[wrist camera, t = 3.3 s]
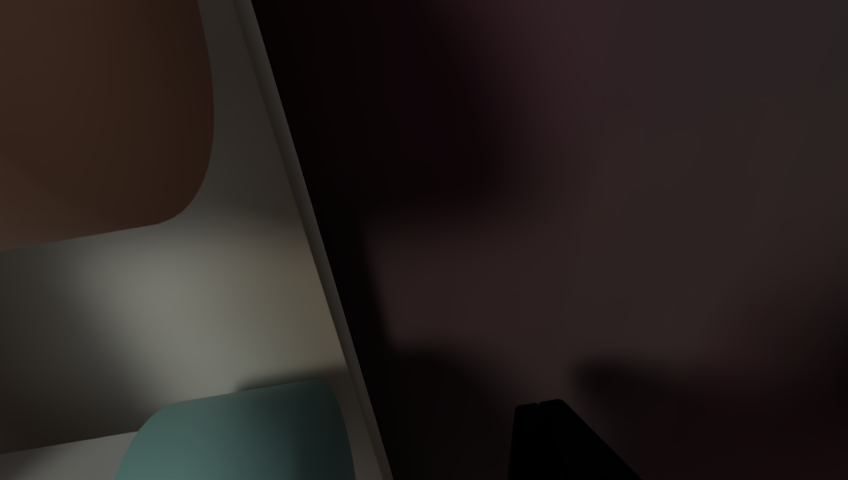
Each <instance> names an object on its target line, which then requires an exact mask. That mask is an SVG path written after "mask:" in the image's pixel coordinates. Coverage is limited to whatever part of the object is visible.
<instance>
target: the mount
mask: <svg viewBox="0 0 848 480" xmlns="http://www.w3.org/2000/svg"><path fill="white" fill-rule="evenodd" d="M197 3H198V7H199V11H200V15H201V19H202V23H203V28H204V33H205V38H206V43H207V48H208V54H209V61H210V67H211V76H212V86H213V100H214V132H213V142H212V151H211V156H210V160H209V165H208V169H207V172H206V175H205V177H204V180H203V183H202V185H201V187H200V189H199V191H198V192H197V194H196V196H195V198H194V199H193V200H192V201H191V203H190V204H189V205H188V206H187V207H186V209H185V210H183V211H182V212H181V213H179V214H178V215H176V216H175V217H174V218H172V219H170V220H167V221H164V222H162V223H159V224H156V225H150V226H144V227H138V228H132V229H126V230H121V231H115V232H109V233H103V234H97V235H91V236H85V237H80V238H74V239H68V240H62V241H56V242H50V243H44V244H39V245H33V246H27V247H21V248H15V249H9V250H4V251H0V454H5V453H11V452H17V451H23V450H29V449H35V448H41V447H47V446H53V445H59V444H65V443H71V442H77V441H83V440H89V439H95V438H101V437H107V436H113V435H119V434H125V433H131V432H137V431H139V430H140V428H141V427H142V426H143V425H144V424H145V423H146V422H147V420H148V419H149V418H150V417H151V416H152V415H154V414H155V413H156V412H157V411H159V410H160V409H162V408H163V407H165V406H167V405H169V404H172V403H176V402H181V401H187V400H193V399H199V398H205V397H211V396H217V395H223V394H229V393H235V392H241V391H247V390H253V389H259V388H264V387H270V386H276V385H282V384H288V383H294V382H300V381H306V380H312V379H322V380H323V381H325V382H326V383H327V384H328V385H329V386H330V388H331V390H332V391H333V393H334V395H335V397H336V399H337V401H338V404H339V407H340V409H341V412H342V415H343V419H344V422H345V426H346V430H347V434H348V438H349V442H350V447H351V453H352V458H353V464H354V470H355V477H356V480H393V476H392V473H391V470H390V466H389V463H388V459H387V456H386V453H385V449H384V446H383V443H382V439H381V436H380V433H379V429H378V426H377V422H376V419H375V416H374V412H373V409H372V406H371V402H370V399H369V396H368V392H367V389H366V385H365V382H364V379H363V375H362V372H361V369H360V365H359V362H358V359H357V355H356V352H355V349H354V345H353V342H352V338H351V335H350V332H349V328H348V325H347V322H346V318H345V315H344V312H343V308H342V305H341V301H340V298H339V295H338V291H337V288H336V285H335V281H334V278H333V275H332V271H331V268H330V264H329V261H328V258H327V254H326V251H325V248H324V244H323V241H322V238H321V234H320V231H319V227H318V224H317V221H316V217H315V214H314V211H313V207H312V204H311V201H310V197H309V194H308V191H307V187H306V184H305V180H304V177H303V174H302V170H301V167H300V164H299V160H298V157H297V154H296V150H295V147H294V143H293V140H292V137H291V133H290V130H289V127H288V123H287V120H286V117H285V113H284V110H283V106H282V103H281V100H280V96H279V93H278V90H277V86H276V83H275V80H274V76H273V73H272V69H271V66H270V63H269V59H268V56H267V53H266V49H265V46H264V43H263V39H262V36H261V33H260V29H259V26H258V22H257V19H256V16H255V12H254V9H253V6H252V2H251V0H197Z"/></svg>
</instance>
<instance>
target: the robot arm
mask: <svg viewBox="0 0 848 480" xmlns="http://www.w3.org/2000/svg"><path fill="white" fill-rule="evenodd" d="M508 480H642V479H641V478H640V477H639V476H638V475H637V474H636V473H635V472H634V471H633V470H632V469H631V468H630V467H629V466H628V465H627V464H626V463H625V462H624V461H623V460H622V459H621V458H620V457H619V456H618V455H617V454H616V453H615V452H614V451H613V450H612V449H611V448H610V447H609V446H608V445H607V444H606V443H605V442H604V441H603V440H602V439H601V438H600V437H599V436H598V435H597V434H596V433H595V432H594V431H593V430H592V429H591V428H590V427H589V426H588V425H587V424H586V423H585V422H584V421H583V420H582V419H581V418H580V417H579V416H578V415H577V414H576V413H575V412H574V411H573V410H572V409H571V408H570V407H569V406H568V405H567V404H566V403H565V402H564V401H563V400H561V399H555V400H549V401H543V402H540V403H539V405H538V404H536V403H531V404H525V405H519V406H517V407H516V408H515V414H514V424H513V433H512V443H511V453H510V462H509V472H508Z"/></svg>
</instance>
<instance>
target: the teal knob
mask: <svg viewBox="0 0 848 480" xmlns="http://www.w3.org/2000/svg"><path fill="white" fill-rule="evenodd" d="M0 480H356V477H355V470H354V464H353V458H352V453H351V447H350V442H349V438H348V434H347V430H346V426H345V422H344V419H343V415H342V412H341V409H340V407H339V404H338V401H337V399H336V397H335V395H334V393H333V391H332V390H331V388H330V386H329V385H328V384H327V383H326V382H325V381H323V380H322V379H312V380H306V381H300V382H294V383H288V384H282V385H276V386H270V387H264V388H259V389H253V390H247V391H241V392H235V393H229V394H223V395H217V396H211V397H205V398H199V399H193V400H187V401H181V402H176V403H172V404H169V405H167V406H165V407H163V408H162V409H160V410H159V411H157V412H156V413H155V414H154V415H152V416H151V417H150V418H149V419H148V420H147V422H146V423H145V424H144V425H143V426H142V427H141V428H140V430H139V431H137V432H131V433H125V434H119V435H113V436H107V437H101V438H95V439H89V440H83V441H77V442H71V443H65V444H59V445H53V446H47V447H41V448H35V449H29V450H23V451H17V452H11V453H5V454H0Z"/></svg>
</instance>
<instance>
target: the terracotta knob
mask: <svg viewBox="0 0 848 480" xmlns="http://www.w3.org/2000/svg"><path fill="white" fill-rule="evenodd" d="M213 132H214V100H213V86H212V76H211V67H210V61H209V54H208V48H207V43H206V38H205V33H204V28H203V23H202V19H201V15H200V11H199V7H198V3H197V0H0V251H4V250H9V249H15V248H21V247H27V246H33V245H39V244H44V243H50V242H56V241H62V240H68V239H74V238H80V237H85V236H91V235H97V234H103V233H109V232H115V231H121V230H126V229H132V228H138V227H144V226H150V225H156V224H159V223H162V222H164V221H167V220H170V219H172V218H174V217H175V216H176V215H178V214H179V213H181V212H182V211H183V210H185V209H186V207H187V206H188V205H189V204H190V203H191V201H192V200H193V199H194V198H195V196H196V194H197V192H198V191H199V189H200V187H201V185H202V183H203V180H204V177H205V175H206V172H207V169H208V165H209V160H210V156H211V151H212V142H213Z"/></svg>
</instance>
